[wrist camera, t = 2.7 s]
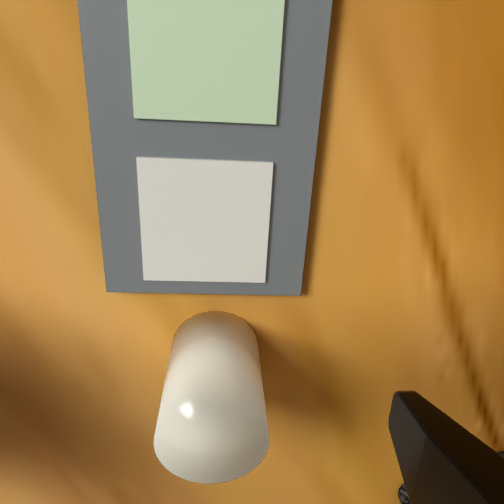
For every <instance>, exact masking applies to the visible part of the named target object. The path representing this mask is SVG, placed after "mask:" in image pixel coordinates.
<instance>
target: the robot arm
mask: <svg viewBox="0 0 504 504" xmlns="http://www.w3.org/2000/svg"><path fill="white" fill-rule="evenodd" d="M389 430H390V434H391V438H392V441H393V445H394V448H395V452H396V455H397V459H398V462H399V466H400V469H401V473H402V476H403V480H404V483H405V487H406V490H407V494H408V497H409V500H410V503H411V504H504V457H502V456H501V455H500V454H498V453H497V452H496V451H494V450H493V449H492V448H490V447H489V446H488V445H486V444H485V443H484V442H482V441H481V440H480V439H478V438H477V437H476V436H474V435H473V434H472V433H470V432H469V431H467V430H466V429H465V428H463V427H462V426H461V425H459V424H458V423H457V422H455V421H454V420H453V419H451V418H450V417H449V416H447V415H446V414H445V413H443V412H442V411H441V410H439V409H438V408H437V407H435V406H434V405H433V404H431V403H430V402H429V401H427V400H426V399H425V398H423V397H422V396H421V395H419V394H418V393H417V392H415V391H397V392H395V394H394V396H393V400H392V405H391V410H390V415H389Z"/></svg>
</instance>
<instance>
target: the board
mask: <svg viewBox="0 0 504 504" xmlns="http://www.w3.org/2000/svg"><path fill="white" fill-rule="evenodd" d="M77 1H78V11H79V21H80V31H81V41H82V51H83V61H84V71H85V81H86V91H87V101H88V111H89V121H90V131H91V141H92V151H93V161H94V171H95V181H96V191H97V201H98V211H99V221H100V231H101V241H102V251H103V261H104V271H105V281H106V291H107V292H130V293H183V294H236V295H290V296H301V287H302V277H303V268H304V259H305V250H306V241H307V231H308V222H309V213H310V204H311V195H312V185H313V176H314V167H315V158H316V148H317V139H318V130H319V121H320V112H321V102H322V93H323V84H324V75H325V66H326V56H327V47H328V38H329V29H330V19H331V10H332V1H333V0H77Z"/></svg>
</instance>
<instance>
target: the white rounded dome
mask: <svg viewBox="0 0 504 504" xmlns="http://www.w3.org/2000/svg"><path fill="white" fill-rule="evenodd" d="M268 447H269V431H268V423H267V415H266V407H265V399H264V391H263V383H262V374H261V366H260V358H259V350H258V342H257V338H256V335H255V333H254V331H253V329H252V328H251V327H250V325H249V324H248V323H247V322H245V321H244V320H243V319H241V318H240V317H238V316H236V315H233V314H230V313H227V312H221V311H209V312H203V313H200V314H197V315H195V316H192V317H191V318H189V319H187V320H186V321H185V322H184V323H183V324H182V325H180V327H179V328H178V329H177V331H176V333H175V335H174V337H173V341H172V346H171V351H170V357H169V362H168V367H167V372H166V378H165V383H164V388H163V393H162V399H161V404H160V409H159V414H158V420H157V425H156V430H155V435H154V450H155V453H156V456H157V457H158V459H159V461H160V462H161V463H162V465H163V466H164V467H165V468H166V469H167V470H169V471H170V472H171V473H173V474H175V475H176V476H178V477H180V478H183V479H185V480H188V481H192V482H197V483H208V484H213V483H222V482H228V481H231V480H235V479H237V478H240V477H242V476H244V475H246V474H247V473H249V472H251V471H252V470H253V469H254V468H256V467H257V466H258V465H259V464H260V463H261V461H262V460H263V459H264V457H265V455H266V453H267V450H268Z"/></svg>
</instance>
